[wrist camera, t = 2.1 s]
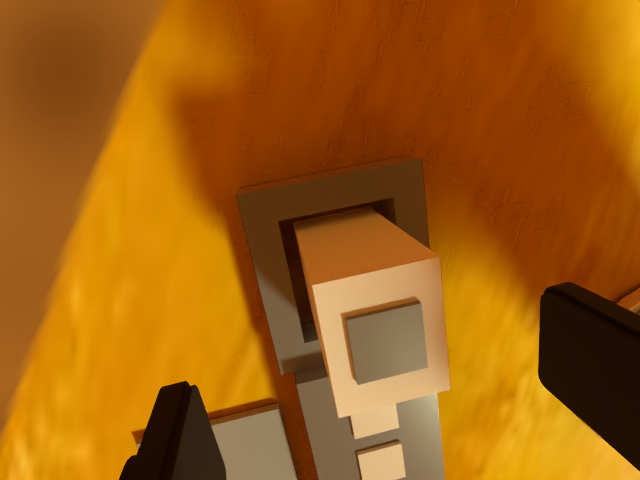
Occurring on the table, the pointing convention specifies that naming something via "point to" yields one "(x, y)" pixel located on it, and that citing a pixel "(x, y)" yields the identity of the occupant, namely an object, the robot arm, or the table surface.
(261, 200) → the charging dock
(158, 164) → the table surface
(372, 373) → the plug
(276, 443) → the rubber mat
